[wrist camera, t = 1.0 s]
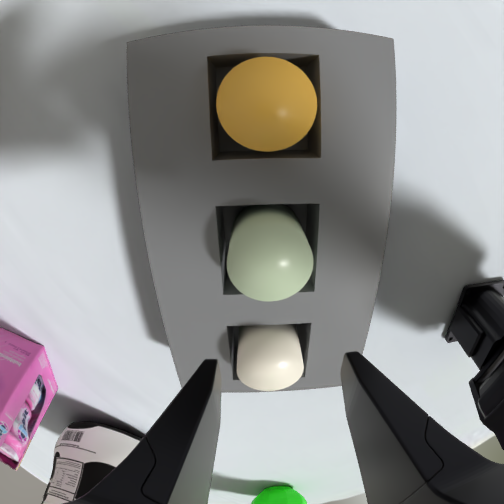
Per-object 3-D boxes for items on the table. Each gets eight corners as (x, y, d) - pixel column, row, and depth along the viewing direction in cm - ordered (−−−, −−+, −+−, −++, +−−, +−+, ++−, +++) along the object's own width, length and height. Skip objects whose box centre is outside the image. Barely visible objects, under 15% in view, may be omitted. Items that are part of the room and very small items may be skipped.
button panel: (366, 51, 14) (393, 38, 11) (342, 350, 24) (353, 384, 21) (151, 55, 15) (126, 42, 11) (190, 356, 25) (182, 391, 21)
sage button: (302, 199, 17) (315, 223, 14) (300, 264, 19) (310, 299, 15) (229, 201, 17) (223, 226, 14) (233, 266, 19) (229, 302, 15)
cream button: (297, 306, 20) (306, 345, 17) (294, 349, 22) (301, 389, 19) (236, 308, 21) (234, 348, 17) (240, 351, 22) (238, 391, 19)
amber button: (300, 70, 14) (315, 57, 10) (302, 143, 16) (317, 151, 12) (222, 72, 14) (214, 59, 10) (226, 144, 16) (218, 153, 12)
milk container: (158, 476, 39) (144, 562, 23) (64, 436, 35) (34, 520, 19) (196, 446, 32) (183, 568, 16) (71, 392, 28) (22, 512, 12)
